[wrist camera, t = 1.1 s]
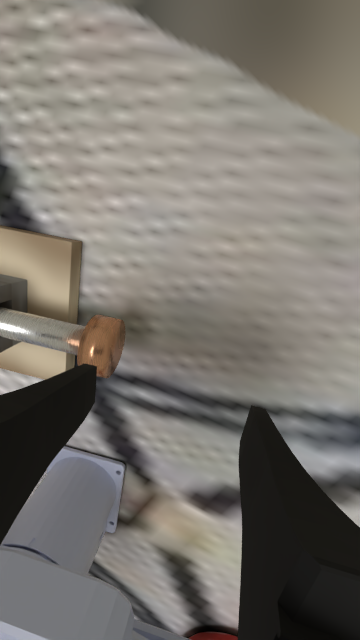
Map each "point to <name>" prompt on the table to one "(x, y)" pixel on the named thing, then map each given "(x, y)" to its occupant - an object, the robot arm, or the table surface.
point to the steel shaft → (69, 337)
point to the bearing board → (38, 294)
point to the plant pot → (213, 636)
